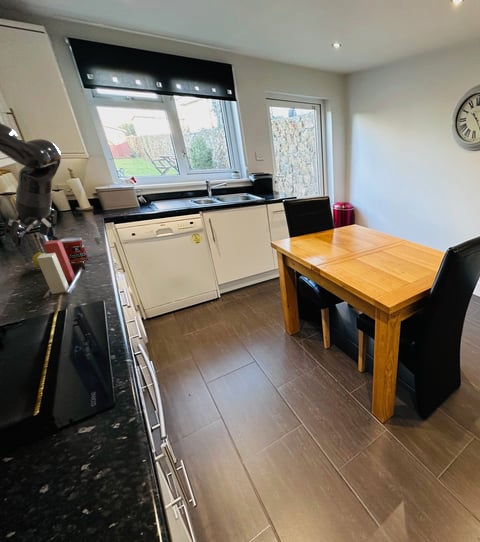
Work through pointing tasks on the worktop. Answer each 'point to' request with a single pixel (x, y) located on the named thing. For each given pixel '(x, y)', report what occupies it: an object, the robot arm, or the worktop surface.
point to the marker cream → (53, 273)
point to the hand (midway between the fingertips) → (31, 238)
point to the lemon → (36, 259)
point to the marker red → (60, 257)
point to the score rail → (74, 267)
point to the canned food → (74, 249)
